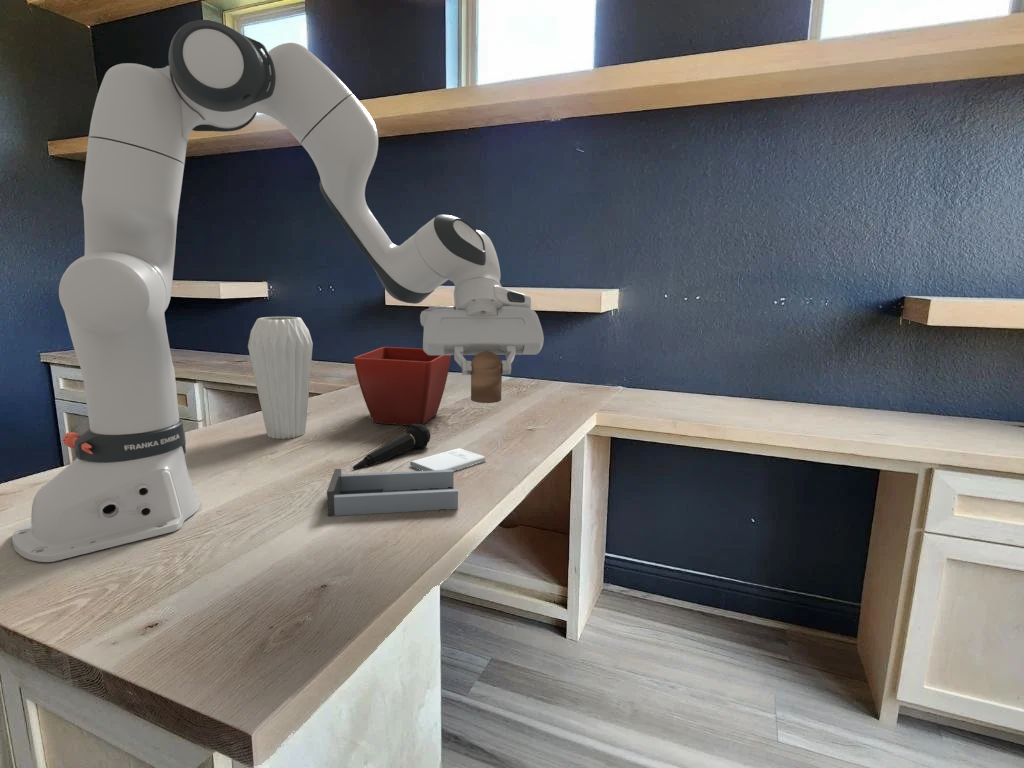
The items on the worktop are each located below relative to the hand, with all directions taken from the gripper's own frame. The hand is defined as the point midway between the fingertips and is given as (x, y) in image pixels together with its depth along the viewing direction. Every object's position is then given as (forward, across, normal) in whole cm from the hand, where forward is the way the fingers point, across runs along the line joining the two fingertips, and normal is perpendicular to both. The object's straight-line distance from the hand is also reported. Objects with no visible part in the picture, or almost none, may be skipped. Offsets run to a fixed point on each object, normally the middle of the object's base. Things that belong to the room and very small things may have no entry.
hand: (487, 372), depth 92 cm
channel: (+15, -15, +15) cm, 26 cm away
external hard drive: (+3, -5, +28) cm, 28 cm away
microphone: (-2, -16, +32) cm, 36 cm away
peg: (+3, 0, +4) cm, 5 cm away
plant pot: (-22, -13, +52) cm, 58 cm away
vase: (-14, -40, +45) cm, 62 cm away
